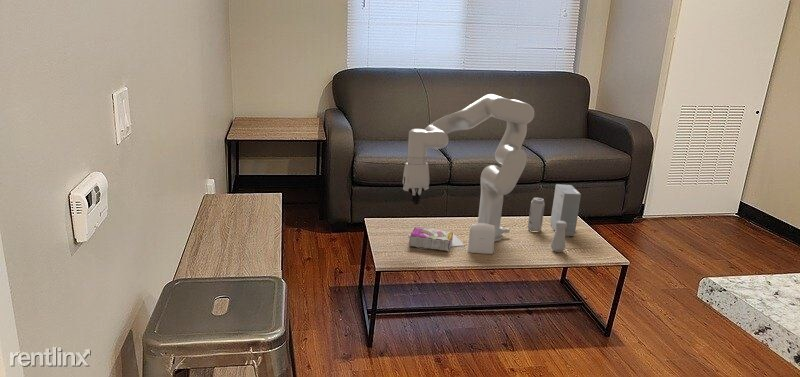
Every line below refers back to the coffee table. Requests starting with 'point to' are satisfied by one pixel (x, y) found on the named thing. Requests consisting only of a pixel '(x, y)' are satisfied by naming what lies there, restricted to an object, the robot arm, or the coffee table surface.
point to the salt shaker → (559, 237)
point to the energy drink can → (536, 214)
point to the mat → (454, 242)
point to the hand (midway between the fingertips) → (415, 203)
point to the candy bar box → (431, 239)
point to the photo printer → (481, 238)
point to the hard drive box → (565, 207)
